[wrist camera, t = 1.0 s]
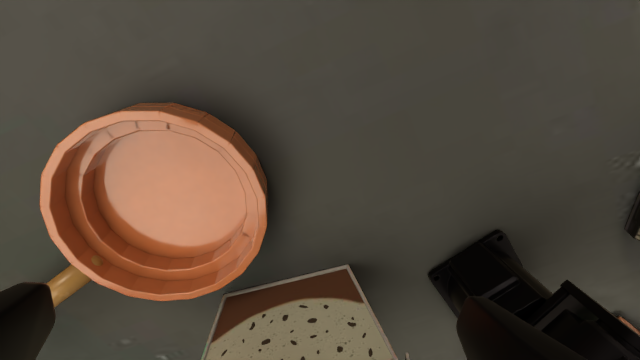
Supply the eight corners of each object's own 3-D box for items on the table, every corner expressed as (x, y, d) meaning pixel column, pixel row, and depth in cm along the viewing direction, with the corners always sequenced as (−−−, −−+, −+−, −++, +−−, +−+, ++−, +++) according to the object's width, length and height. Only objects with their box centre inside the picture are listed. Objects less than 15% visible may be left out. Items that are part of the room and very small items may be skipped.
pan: (302, 206, 22) (306, 229, 19) (174, 296, 23) (160, 330, 20) (177, 58, 17) (159, 60, 15) (29, 180, 19) (-14, 202, 16)
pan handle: (113, 260, 20) (102, 274, 18) (11, 336, 21) (-7, 355, 19) (94, 245, 19) (81, 259, 18) (-10, 323, 20) (-29, 342, 19)
